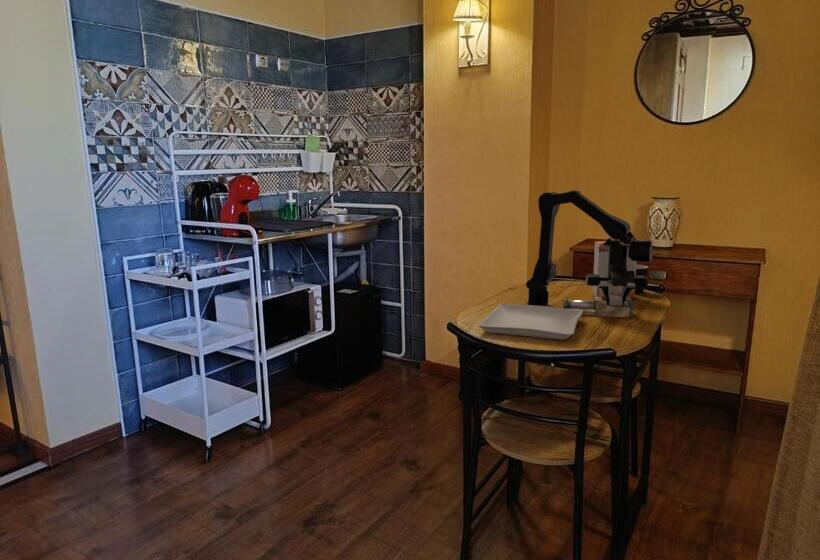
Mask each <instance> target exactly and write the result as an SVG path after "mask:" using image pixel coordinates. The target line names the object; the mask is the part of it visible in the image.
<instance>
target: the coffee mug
mask: <svg viewBox="0 0 820 560" xmlns="http://www.w3.org/2000/svg"><path fill="white" fill-rule="evenodd" d="M648 271H649V266H647V265H643V264H636V275H638V276H644V277H645V278H646V279H647V276H648ZM644 290H645V287H637V286H636V285H635V295H638V294H637V293H642V294H644V292H645V291H644Z"/></svg>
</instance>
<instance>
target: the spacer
mask: <svg viewBox="0 0 820 560" xmlns="http://www.w3.org/2000/svg"><path fill="white" fill-rule="evenodd" d="M622 300H623V299H622V297H621V296H609V306H608V307H622Z"/></svg>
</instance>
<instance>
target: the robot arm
mask: <svg viewBox="0 0 820 560" xmlns="http://www.w3.org/2000/svg"><path fill="white" fill-rule="evenodd" d="M569 203H571V204H573V206H575V207H577V208H578V209H579V210H581V211H582V212H583V213H585V215H587V216H588V217H590V218H591V219H592V220H594V221H595V222H596V223H598V224H599V225H600V226H601V227H602V229H603V230H604V233H606V234H607V235H608V236H609V238H607V239H606V240H605V241H606V242H604V243H603V245H605V246H609V258H608V274H607V277H600V276H599V275H598V274H594V273H592V274H591V273H588V274H587V275H586V277H585V283H586V285H587V286H592V287H593V286H598V287H599V288H602V290H603V293H604V296H605V298H604V299H605V302H606V303H607V306H609V294H608V289H609V287H608V286H607V284H608V283H611V284H612V286H623V289H622V296H621V297H622V299H623V300H622V306H623V304H624V302H626V297H627V295H628V294H629V292H630V291H631V290H632V289H635V287H634V285H636V286H637V287H644V288H648V287H649V286H648V285H649V279H647V277H646V278H645V277H644V276H638V275H635V272H634V271H627V252H628V257H629V258H630V259H631V260H632V261H636V262H639V263H640V262H641V263H642V262H643V263H652V260H653V257H654V250H653V241H652V240H639V239H638V240H637V238H636V237H635V236H634V233H632V231H631V225H630V224H629V222H628V221H626V220H624V219H622V218H620V217H617V216H615V215H613V214H610V213H609V212H607V211H605V210H604V209H603V208H601V207H600V206H599V205H597V203H594V202H593V201H592V200H590V199H589V198H588V197H586V196H585V195H584V194H582V192H580V190H576V189H574V190H570V191H567V192H562V193H558V192H556V191H549V192H544V193H541V194H540V195H539V196H538V203H537V204H538V211H539V215H540V218H541V220H540V234H539V248H538V259H537V262H536V264H535V266H534V270H533V271H532V272H533V273H532V277H531V278H530V279H528V280H527V282H525V285H526V288H527V290H528V298H527V299H528V300H527V305H534V306H546V307H548V304H549V291H548V286H549V284H550V282H552V281H553V280H554V279H555V276H556V275H557V272H556V271H557V266H558V263H554V262H553V258H552V257H553V245H554V233H555V232H554V231H555V222H556V221H555V220H556V217H557V215H558V212H559V210H560V206H561V205H564V204H569ZM622 243H624V244H622ZM628 247H629V250H628ZM610 280H611V281H610Z"/></svg>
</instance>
